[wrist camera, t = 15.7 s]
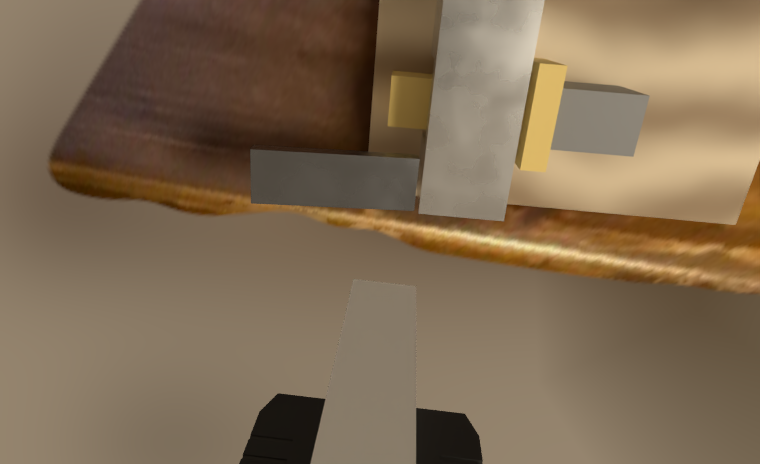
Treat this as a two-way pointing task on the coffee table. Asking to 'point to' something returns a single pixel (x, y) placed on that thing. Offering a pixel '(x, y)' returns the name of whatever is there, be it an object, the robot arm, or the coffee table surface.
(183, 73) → the coffee table surface
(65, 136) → the coffee table surface
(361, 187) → the plate
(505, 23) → the block
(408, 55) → the base board
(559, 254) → the coffee table surface
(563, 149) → the grey block yellow flange
